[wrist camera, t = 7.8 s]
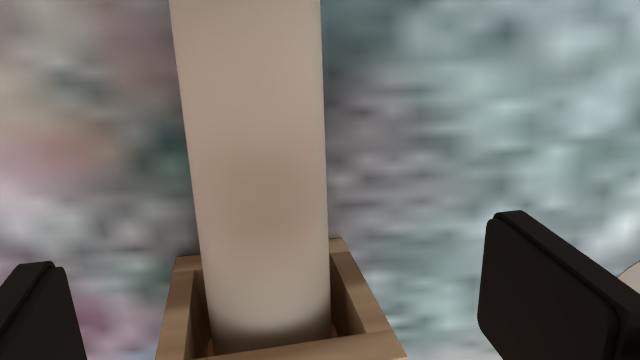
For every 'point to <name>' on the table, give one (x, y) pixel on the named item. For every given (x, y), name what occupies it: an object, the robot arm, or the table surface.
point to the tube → (257, 167)
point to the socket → (317, 356)
